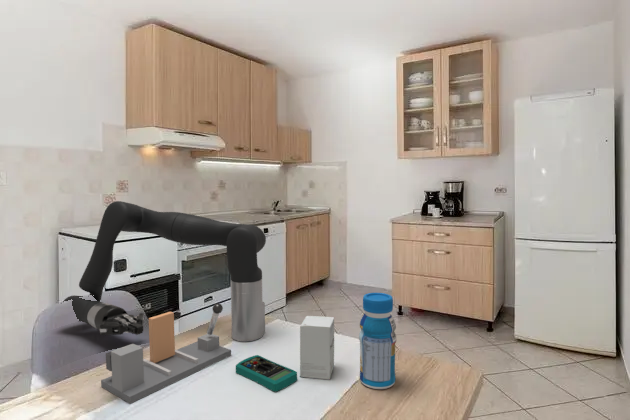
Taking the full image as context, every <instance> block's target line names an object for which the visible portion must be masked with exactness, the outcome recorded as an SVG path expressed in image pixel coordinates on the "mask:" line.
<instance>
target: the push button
mask: <svg viewBox="0 0 630 420" xmlns="http://www.w3.org/2000/svg"><path fill="white" fill-rule="evenodd" d="M105 369H106V370H107V371H109V372H112V366H111V351H108V352H106V353H105Z"/></svg>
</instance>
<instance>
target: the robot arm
mask: <svg viewBox="0 0 630 420" xmlns="http://www.w3.org/2000/svg"><path fill="white" fill-rule="evenodd" d="M121 232H124V233H125V232H127V233H145V234H152V235H155V236H156V235H157V236H159V237H160V238H162V239H166V240H168V241H171V242H175V243H179V244H184V245H191V246H224V247H226V260H227V264H226V265H227V270H228V272H229V275H230V306H231V307H230V311H231V313H230V314H231V319H230V321H231V338H232V339H233V341H234V340H235V341H238V342H252V341H257V340H259V339H261V338H262V337H264V336H263V335H264V334H265V333H266V306H265V305H266V302H264V301H263V271H262V269H261V268H260V267H259V266H258V253H259V252H261V250H262V249H263V248H264V247H265V245H266V242H267V238H266V235H265V233H264V231H263V230H262V229H261V228H260V227H259V226H257V225H254V224H251V223H250V224H249V223H246V224H245V223H233V222H225V221H220V220H216V219H212V218H209V217H204V216H201V215H200V216H199V215H197V214H191V213H185V212H179V211H157V210H153V209H150V208H146V207H143V206H140V205H138V204H134V203H131V202H125V201H119V200H116V201H113V202H111V203H110V204H108V206H107V207H106V209H105V210H104V213H103V215H102V219H101V221H100V226H99V229H98V233H97V236H96V240H95V243H94V246H93V250H92V253H91V256H90V258H89V261H88V263H87V265H86V267H85V269H84V272H83V273H82V275H81V278H80V280H79V284H78V287H79V289H81V290H82V291H84V292H86V293H89V295H92V296H93V295H94V296H93V297H94V298H95V299H96V300H97V301H91V300H85V299H82V298H79V297H83V295H69V296H67V297H65V299H64V300H63V301H62V302H64V301H68V300H71V299H72V300H73V301H72V306H73V310H74V312H75V314H76V317H77V319H79V321H78V322H81V321H82V322H81V323H85V324H87V325H89V326H92V328H94V329H96V330H99V335H100V336H115V335H116V336H118V335H120V336H121V335H123V334H124V333H126V334H129V333H130V334H132V335H136V336H137V335H140V334H141V335H142V334H143V332H144V323H145V319H144V317H145V315H144V314H145V313H143V312H141V313H139V314H137V315H136V316H134V314H129V313H128V312H127V311H126V310H125V309H124V308H122V307H120V306H117V305H114V304H111V303H108V302H107V303H106V302H103V301H102V297H103V292H104V287H105V285H106V283H107V281H108V279H109V277H110V275H111V271H112V269H113V264H114V255H113V254H114V245H115V243H116V240H117V238H118V237H119V235H120V233H121ZM100 300H101V302H100Z"/></svg>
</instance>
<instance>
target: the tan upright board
mask: <svg viewBox="0 0 630 420" xmlns="http://www.w3.org/2000/svg"><path fill="white" fill-rule="evenodd" d="M148 339H149V361H151V362H153V363H156V362H159V361H161V360H163V359H166V358H168V357H171V356H173V355H175V350H176V341H175V340H176V338H175V314H174V312H172V311H167V312H165V313H161V314H158V315H154V316H152V317H148Z"/></svg>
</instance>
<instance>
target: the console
mask: <svg viewBox="0 0 630 420" xmlns="http://www.w3.org/2000/svg"><path fill="white" fill-rule="evenodd" d="M110 352H111V366H112V371H111V376H108V377H106V378H103V379H101V380H100V386H101V388H102V389H104V390H106V391H108V392H110V393H111V394H113V395H114V396H116V397H118V398H120V399H121V400H122V401H125V402H127V404H129V405H130V404H132V403H135V402H137V401H139V400H141V399H143V398H145V397H147V396H149V395H151V394H154V393H156V392H159V390H160V391H161V390H162V389H164V388H166V387H168V386H170V385H173V384H174V383H176V382H178V381H180V380H183V379H185V378H187V377H189V376H191V375H194V374H195V373H197V372H199V371H201V370H202V371H203V370H204V369H206V368H208V367H210V366H212V365H213V364H214V365H215V364H216V363H218V362H220V361H223V360H225V359H227V358H229V357H230V356H232V350H231V349H230V348H226V347H224V346H221V345H220V336H219V335H217V334H214V333H213V334H212V335H208V334H207V333H206V334H203V335H201V336H198V337H197V341H196V342H193V343H190V344H187V345H186V346H183V347H180V348H178V349H175V355H173V356H171V357H168V358H166V359H163V360H161V361H159V362H156V363H153V362H151V361H150V360H148V359H146V358H144V349H143V347H142V346H140V345H138V344H135V343H131V344H127V345H125V346H122V347H119V348H117V349H114V350H111V351H110Z"/></svg>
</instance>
